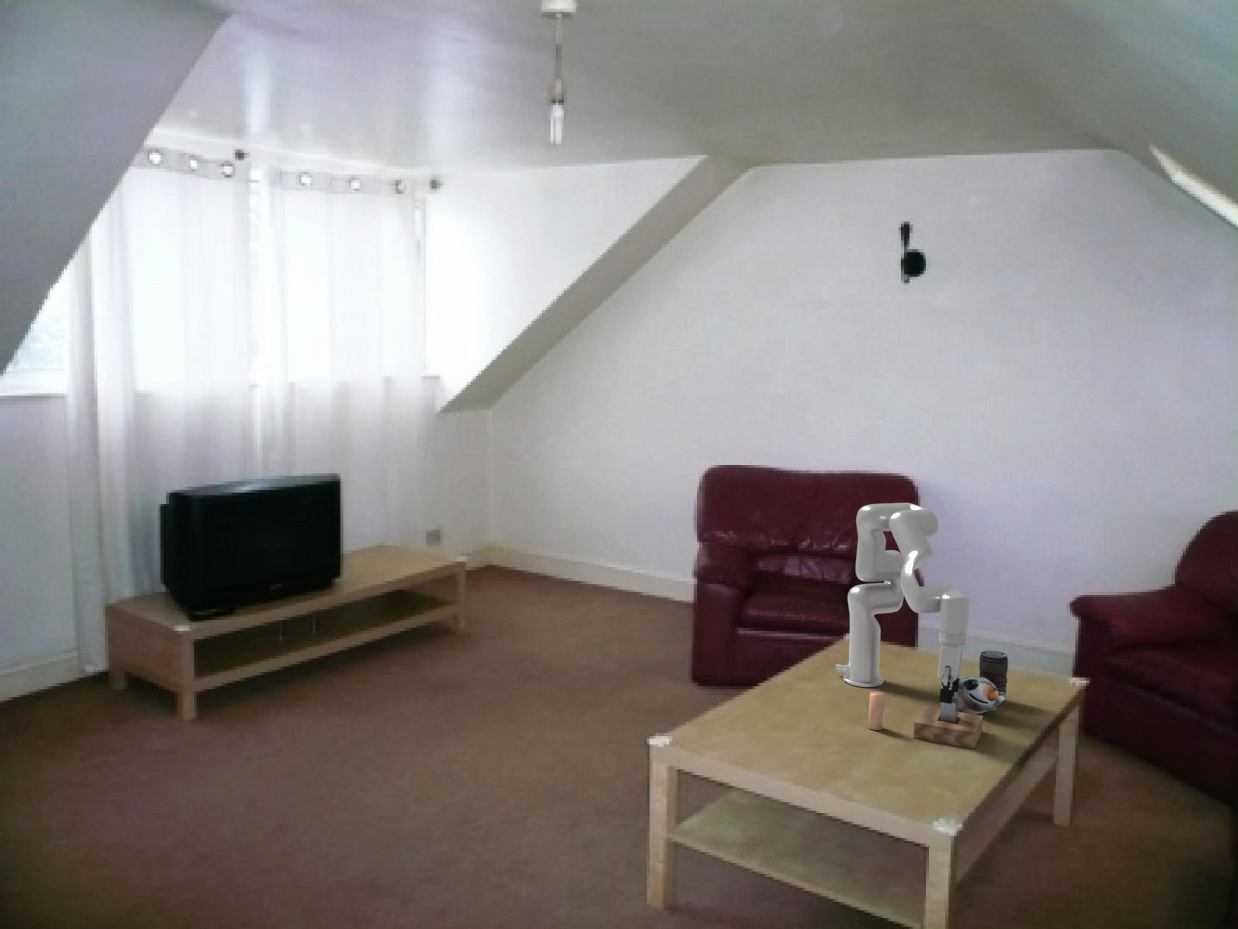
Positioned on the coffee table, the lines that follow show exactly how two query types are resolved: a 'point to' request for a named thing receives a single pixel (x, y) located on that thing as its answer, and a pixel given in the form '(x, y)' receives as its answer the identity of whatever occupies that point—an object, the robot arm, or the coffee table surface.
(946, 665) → the robot arm
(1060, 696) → the coffee table surface
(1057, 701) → the coffee table surface
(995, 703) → the lucky cat figurine
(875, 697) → the round bit
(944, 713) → the square bit
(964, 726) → the bore block
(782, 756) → the coffee table surface
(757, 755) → the coffee table surface
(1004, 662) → the camera lens
